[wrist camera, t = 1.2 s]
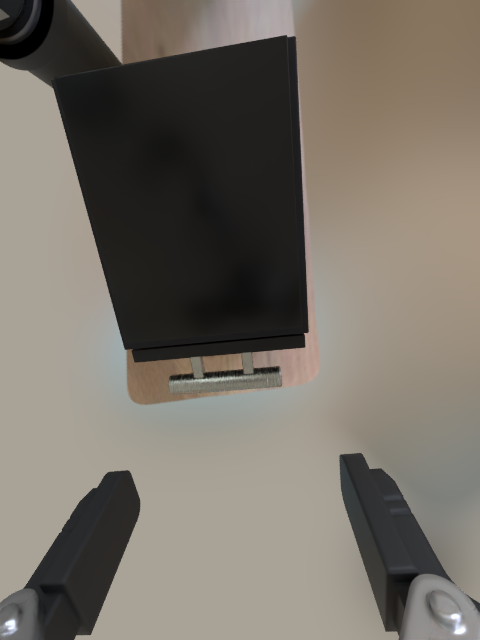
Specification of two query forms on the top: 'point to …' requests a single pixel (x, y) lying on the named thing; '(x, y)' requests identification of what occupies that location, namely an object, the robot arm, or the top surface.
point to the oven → (195, 191)
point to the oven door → (222, 379)
